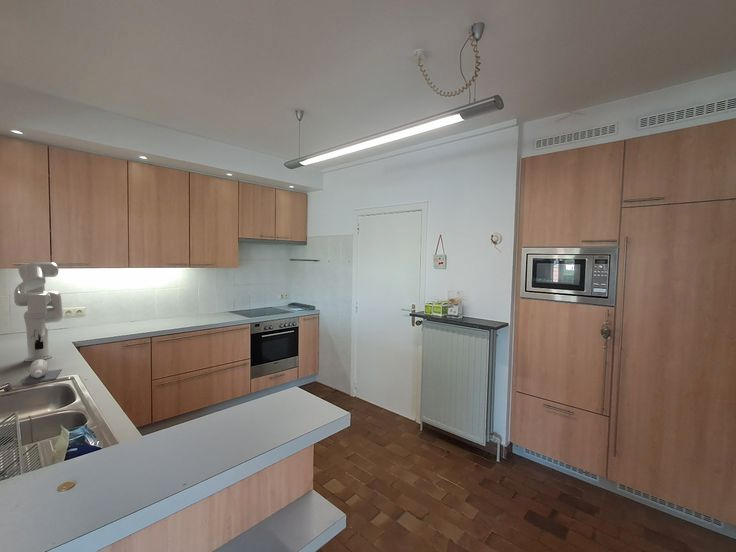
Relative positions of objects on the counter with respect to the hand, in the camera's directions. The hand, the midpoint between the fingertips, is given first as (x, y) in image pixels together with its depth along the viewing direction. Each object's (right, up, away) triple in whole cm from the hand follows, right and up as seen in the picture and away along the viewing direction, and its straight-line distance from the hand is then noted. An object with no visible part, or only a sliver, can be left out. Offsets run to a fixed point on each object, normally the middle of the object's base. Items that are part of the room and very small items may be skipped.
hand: (39, 349), depth 184 cm
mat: (+7, -14, -5) cm, 16 cm away
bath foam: (-1, -9, +2) cm, 10 cm away
